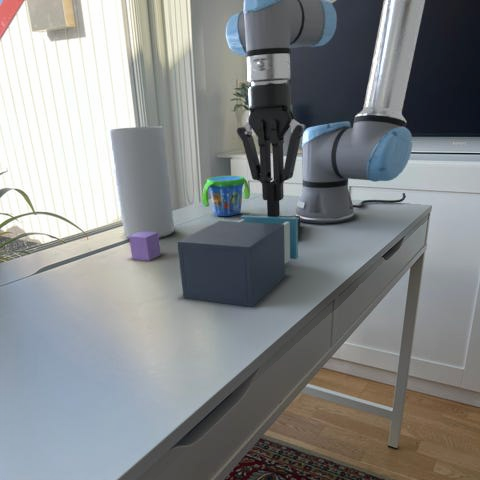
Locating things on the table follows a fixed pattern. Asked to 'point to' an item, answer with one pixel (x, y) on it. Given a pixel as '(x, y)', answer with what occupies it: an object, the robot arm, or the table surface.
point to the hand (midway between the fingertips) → (273, 216)
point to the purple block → (145, 245)
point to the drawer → (289, 232)
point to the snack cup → (226, 194)
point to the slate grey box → (232, 262)
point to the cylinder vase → (142, 179)
